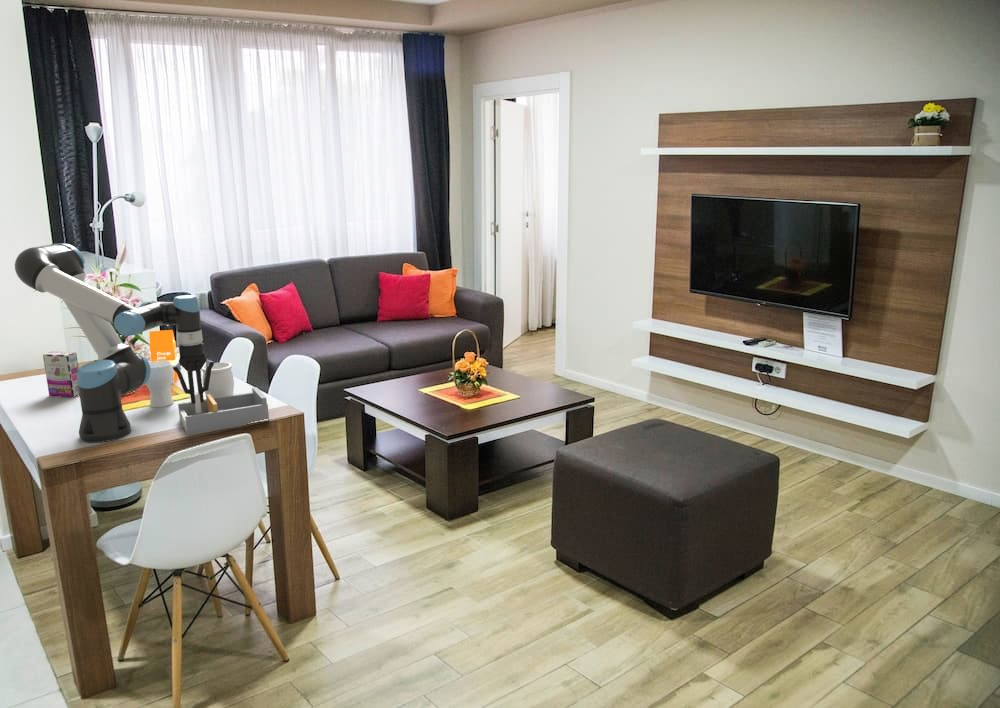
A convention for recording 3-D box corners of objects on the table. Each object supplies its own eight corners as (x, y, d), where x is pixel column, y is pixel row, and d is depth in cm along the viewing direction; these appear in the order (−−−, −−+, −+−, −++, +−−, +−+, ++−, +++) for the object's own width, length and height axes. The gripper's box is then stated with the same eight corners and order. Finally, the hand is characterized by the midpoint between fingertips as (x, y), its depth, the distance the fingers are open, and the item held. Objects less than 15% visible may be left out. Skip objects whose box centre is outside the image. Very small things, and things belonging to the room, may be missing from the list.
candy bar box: (83, 394, 307) (77, 352, 303) (73, 398, 302) (67, 355, 298) (58, 392, 309) (51, 350, 305) (48, 396, 305) (41, 354, 301)
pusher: (215, 424, 267) (213, 404, 265) (208, 413, 278) (205, 394, 276) (228, 422, 269) (226, 402, 267) (220, 411, 280) (218, 392, 278)
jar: (226, 411, 284) (222, 370, 280) (199, 410, 286) (195, 369, 282) (241, 402, 294) (237, 362, 290) (215, 401, 296) (211, 361, 292)
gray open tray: (187, 435, 261) (185, 411, 259) (179, 420, 276) (177, 397, 274) (269, 421, 273) (267, 398, 271) (257, 407, 288) (255, 386, 286)
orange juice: (156, 377, 328) (150, 329, 323) (179, 375, 330) (174, 327, 325) (153, 383, 320) (147, 333, 315) (177, 381, 323) (171, 331, 318)
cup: (139, 406, 291) (134, 366, 287) (163, 398, 300) (158, 359, 297) (160, 410, 287) (155, 369, 283) (184, 401, 296) (179, 362, 292)
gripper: (171, 348, 258) (179, 418, 264) (213, 342, 264) (221, 412, 270) (167, 343, 264) (176, 412, 270) (209, 338, 270) (216, 406, 276)
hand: (198, 412), depth 270 cm, fingers closed
